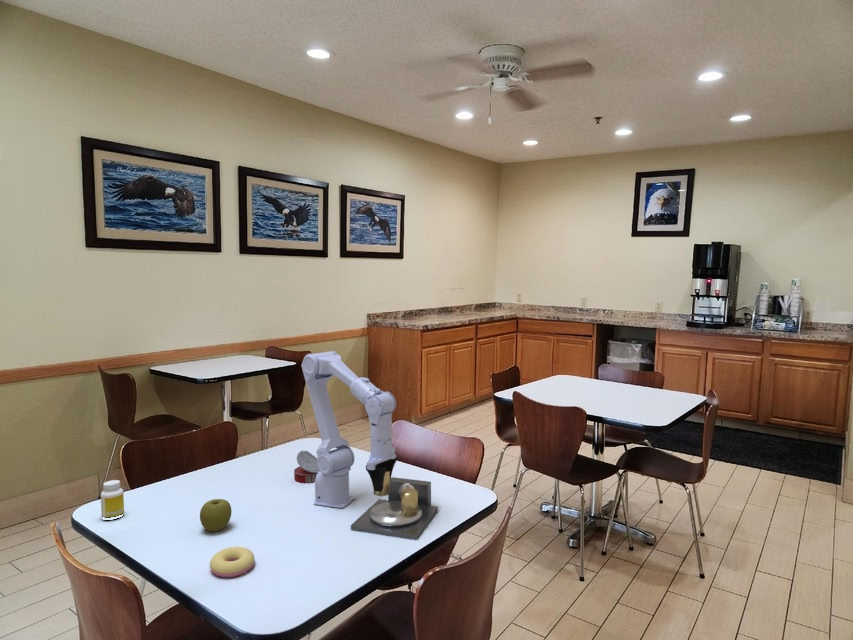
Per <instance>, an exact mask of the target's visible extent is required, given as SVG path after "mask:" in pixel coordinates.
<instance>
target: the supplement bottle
mask: <svg viewBox="0 0 853 640" xmlns="http://www.w3.org/2000/svg"><path fill="white" fill-rule="evenodd" d="M102 489H103V490H102V491H101V493H100V507H101V509H100V511H101V518H102V517H104V518H111V517H116V516H119V515H122V514H123V513H124V514H125V502H124V501H125V500H124V489H122V488H121V480H118V479H112V480H107V481H105V482H103V487H102Z"/></svg>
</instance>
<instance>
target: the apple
mask: <svg viewBox="0 0 853 640" xmlns="http://www.w3.org/2000/svg"><path fill="white" fill-rule="evenodd" d="M232 512H233V511H232V506H231V503H230V502H229V501H228V500H226V499H224V498H223V499H222V498H215V499H210V500H208V501H206V502H205V503H204V504H203V505H202V507H201V509H200V512H199V520H200V523H201V526H202V527H203V528H204V529H205V530H206V531H207V532H211V531H212V532H213V533H215V531H216V532H219V531H221V530H223V529H224V528H226V527H227V526H228V524H229V522H230V521H231V517H232ZM212 532H211V533H212Z"/></svg>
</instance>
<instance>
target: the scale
mask: <svg viewBox="0 0 853 640" xmlns="http://www.w3.org/2000/svg"><path fill="white" fill-rule="evenodd" d="M404 489H416V490H417V491H418V506H419V507H420V508H421V509H422V516H421V518H420V519H419V520H418V521H416V522H414V523H412V524H408V525H404V526H385V525H380V524H377V523H375V522H373V521H372V520H371V518H370V511H371V509H372V508H373V507H375V506H377V505H379V504H382V503H386V502H393V501H401V491H402V490H404ZM387 496H388V498H387V499H381V498H379V499H377V500H376V501H375V502H374V503H373V504H372V505H371V506H370V507H369V508H368V509H366V511H365V512H363V513H362V514H361V515H360V516H359V517H358V518H357V519H356V520H355V521H354V522H353V523H351V524H350V531H355V532H362V533H367V534H375V535H380V536H388V537H395V538H398V539H399V538H400V539H406V538H407V539H406V540H412V539H414V540H413V541H417V540H416V539H418V538H419V537H420V536H419V535H421V534H422V533H423V532H424V530H425V529H426V528H427V526H428V525H429V524H430V523H431V521H432V520H433V519H434V517H435V516H436V514H437V513H438V512H439V507H438V506H436V505H435V506H434V505H432V481H428V480H421V479H420V480H419V479H411V478H402V477H401V478H400V477H395V476H394V477H393V476H391V480H390V494H388V495H387ZM437 511H438V512H437ZM434 515H435V516H434ZM431 519H432V520H431ZM428 523H429V524H428ZM425 527H426V528H425ZM424 528H425V529H424ZM422 531H423V532H422Z"/></svg>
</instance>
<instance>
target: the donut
mask: <svg viewBox="0 0 853 640" xmlns="http://www.w3.org/2000/svg"><path fill="white" fill-rule="evenodd" d="M254 564H255V555H254V553H253V551H252V550H250V549H249V548H247V547H244V546H231V547H226V548H223V549H221V550H219V551H217V552H216V553H215V554H214V555H213V556H212V558H210V562H209V568H210V571H211V572H212V574H214V575H215V576H218V577H221V578H234V577H239V576H241V575H243V574H246V573H247V572H249V570H251V568H252V567H253V565H254Z"/></svg>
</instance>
